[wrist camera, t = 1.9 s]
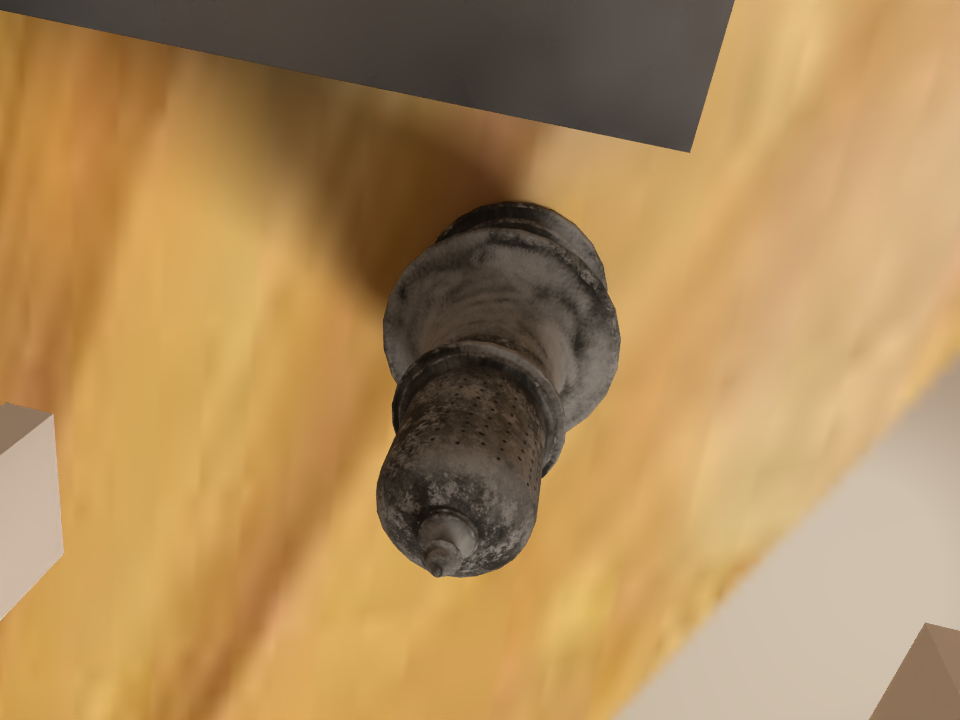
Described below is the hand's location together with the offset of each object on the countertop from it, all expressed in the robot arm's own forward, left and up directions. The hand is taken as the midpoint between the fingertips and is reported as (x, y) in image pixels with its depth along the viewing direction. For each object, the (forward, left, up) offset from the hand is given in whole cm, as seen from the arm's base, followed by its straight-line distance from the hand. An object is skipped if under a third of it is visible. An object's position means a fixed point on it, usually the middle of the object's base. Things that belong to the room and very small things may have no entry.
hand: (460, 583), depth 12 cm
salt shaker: (0, 0, -12) cm, 12 cm away
